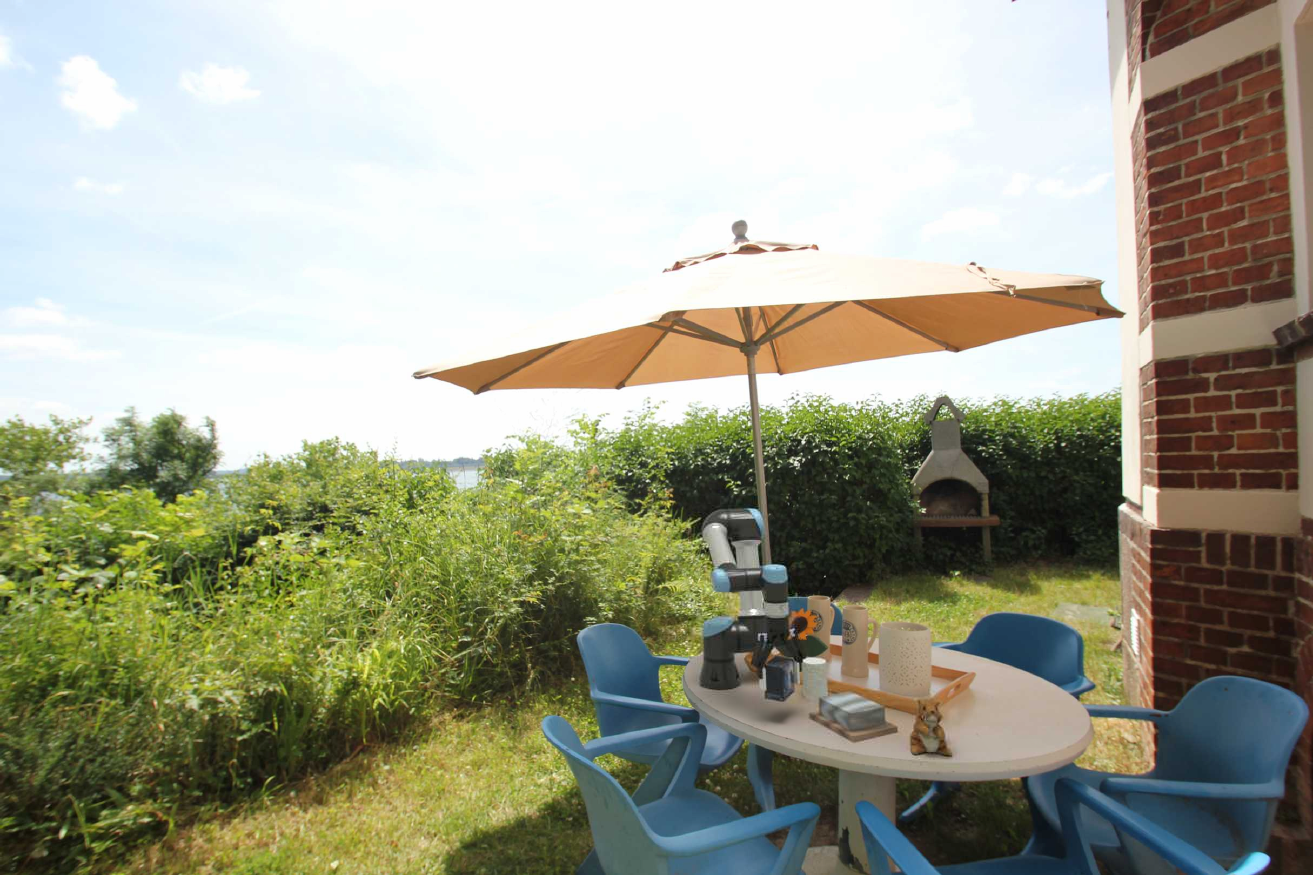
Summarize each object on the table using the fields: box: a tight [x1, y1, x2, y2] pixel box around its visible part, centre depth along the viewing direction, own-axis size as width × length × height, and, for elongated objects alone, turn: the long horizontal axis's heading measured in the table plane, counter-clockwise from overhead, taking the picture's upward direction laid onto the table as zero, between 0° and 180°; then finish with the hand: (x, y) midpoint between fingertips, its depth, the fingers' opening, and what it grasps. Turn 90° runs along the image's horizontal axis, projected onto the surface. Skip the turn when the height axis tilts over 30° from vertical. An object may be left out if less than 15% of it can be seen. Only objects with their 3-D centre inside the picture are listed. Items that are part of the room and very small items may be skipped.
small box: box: [763, 655, 796, 703], centre depth 180 cm, size 11×6×10 cm, turn 148°
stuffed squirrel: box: [909, 697, 953, 757], centre depth 157 cm, size 10×14×13 cm
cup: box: [801, 657, 829, 702], centre depth 197 cm, size 8×8×12 cm
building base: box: [808, 690, 899, 743], centre depth 173 cm, size 20×16×6 cm
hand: (779, 685), depth 180 cm, fingers closed on small box, 12 cm apart
